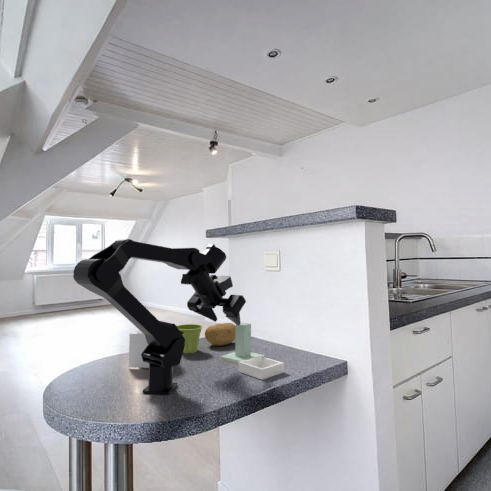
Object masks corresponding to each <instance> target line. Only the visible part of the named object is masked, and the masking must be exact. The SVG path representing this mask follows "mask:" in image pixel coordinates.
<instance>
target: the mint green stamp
mask: <svg viewBox="0 0 491 491" xmlns="http://www.w3.org/2000/svg"><path fill="white" fill-rule="evenodd" d="M235 326H236V339H235V340H234V341H235V346H234V347H235V348H234V349H235V350H234V351H232V352H230V353H227V354H224V355H221V356H220V359H221V360H220V361H222V360H225V361H224V362H226V361H229V362H228V363H230V362H233V363H232V364H234V363H237V364H239V362H240V361H244V360H248V359H252V358H256V357H259V356H262V357H265V358H266V355H265V354H260V353H256V352H251V351H252V349H251V348H252V323H248V322H241V323H240V325H237V324H235ZM237 364H236V365H237Z"/></svg>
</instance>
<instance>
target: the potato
mask: <svg viewBox="0 0 491 491" xmlns="http://www.w3.org/2000/svg"><path fill="white" fill-rule="evenodd" d="M204 337H205V339H206V341H207V342H208V343H209V344H210V345H212V346H214V347H221V346H226V345H229V344H231V343H233V342H234V341H235V339H236V324H235V323H233V322H223V323H216V324H214V325H209V326H208V327H207V328H206V329H205V331H204Z"/></svg>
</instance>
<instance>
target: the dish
mask: <svg viewBox="0 0 491 491" xmlns="http://www.w3.org/2000/svg"><path fill="white" fill-rule="evenodd" d="M238 373H242V374H244V375H247V376H250V377H253V378H255V379H258V380H261V381H263V380H266V379H268V378H271V377H275V376H277V375H281V374H284V373H285V363H284V362H282V361H278V360H275V359H272V358H268V357H266V356H265V357H262V356H259V357H256V358H252V359H248V360H244V361H240V362H239V365H238Z"/></svg>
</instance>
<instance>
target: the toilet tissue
mask: <svg viewBox="0 0 491 491" xmlns="http://www.w3.org/2000/svg"><path fill="white" fill-rule="evenodd" d="M128 342H129V344H128V345H129V346H128V367H129V368H144V369H149V363H147V362H143V360H142V357H141V354H142V352H143V351H144V350H145V348H146V347H147V346H148V343H147V341H146V337H145V335H144V334H143V333H142V332H141V331H140V330H139V329H138V330H137V333H129V341H128ZM160 356H162V357H164V355H162V354H161V355H160Z"/></svg>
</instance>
